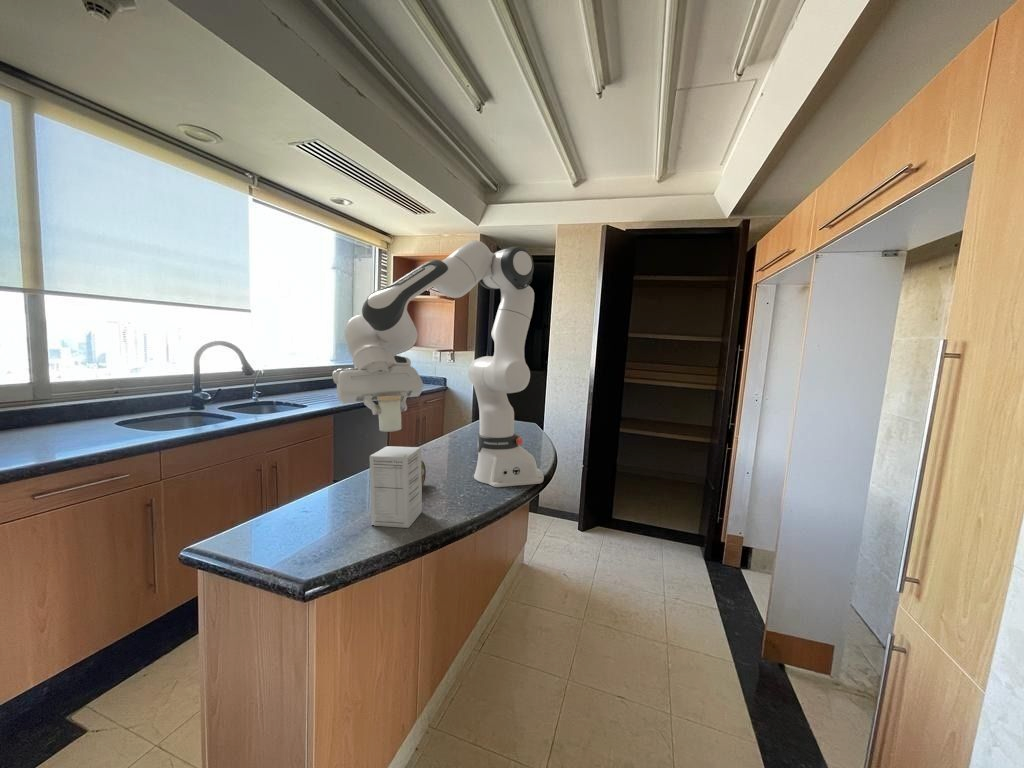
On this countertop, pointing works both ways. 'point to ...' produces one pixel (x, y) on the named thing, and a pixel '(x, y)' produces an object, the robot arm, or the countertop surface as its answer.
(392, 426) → the jar
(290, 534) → the countertop surface
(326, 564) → the countertop surface
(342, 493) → the countertop surface
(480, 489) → the countertop surface
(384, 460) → the supplement box
